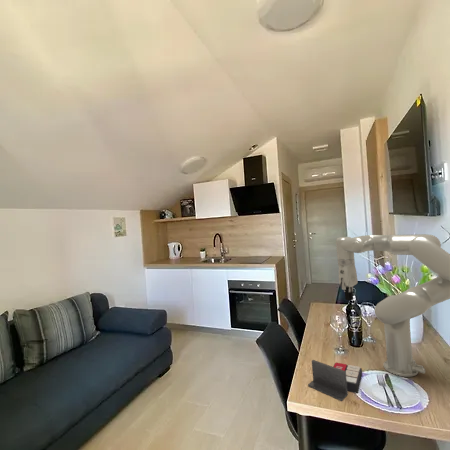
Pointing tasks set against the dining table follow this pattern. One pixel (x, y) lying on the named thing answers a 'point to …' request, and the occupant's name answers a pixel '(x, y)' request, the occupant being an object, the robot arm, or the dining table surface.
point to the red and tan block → (351, 376)
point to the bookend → (329, 380)
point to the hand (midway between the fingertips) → (349, 299)
